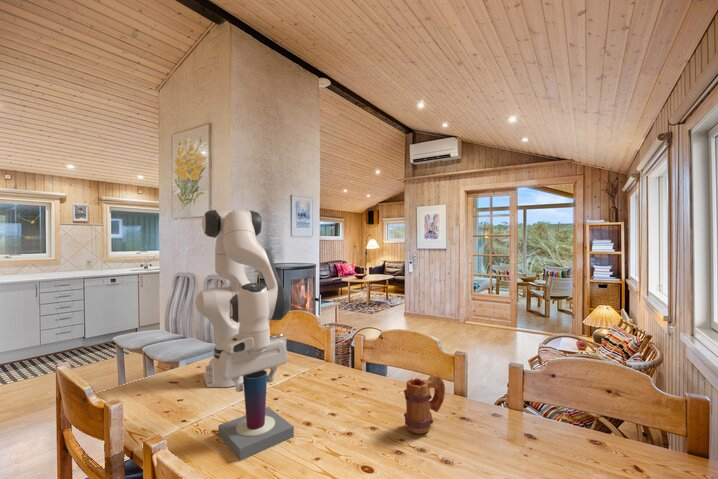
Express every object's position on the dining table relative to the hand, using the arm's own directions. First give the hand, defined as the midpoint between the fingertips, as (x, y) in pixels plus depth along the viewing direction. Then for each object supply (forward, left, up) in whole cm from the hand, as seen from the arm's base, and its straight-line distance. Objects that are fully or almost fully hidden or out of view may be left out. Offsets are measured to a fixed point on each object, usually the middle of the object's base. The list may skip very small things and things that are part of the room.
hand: (255, 386), depth 100 cm
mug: (+31, +40, -15) cm, 53 cm away
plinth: (0, 0, -15) cm, 15 cm away
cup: (0, 0, -12) cm, 12 cm away
